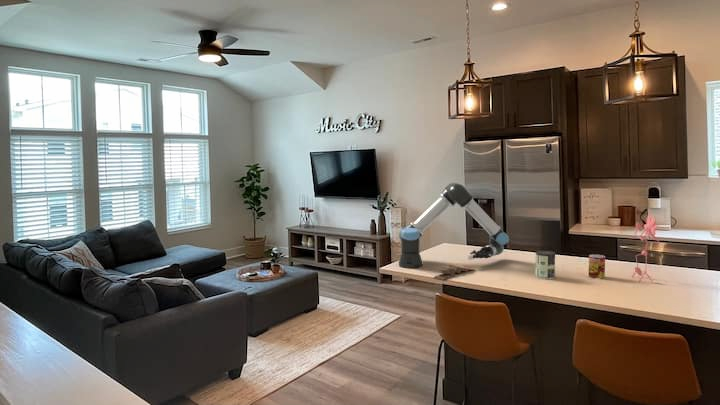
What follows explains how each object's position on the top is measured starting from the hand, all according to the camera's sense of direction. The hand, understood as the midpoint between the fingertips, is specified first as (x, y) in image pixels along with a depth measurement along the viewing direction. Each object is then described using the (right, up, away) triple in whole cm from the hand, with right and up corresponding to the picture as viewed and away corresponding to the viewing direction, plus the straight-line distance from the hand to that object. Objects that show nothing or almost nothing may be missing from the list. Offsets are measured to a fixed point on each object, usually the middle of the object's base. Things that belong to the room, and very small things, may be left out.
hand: (469, 257), depth 260 cm
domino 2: (-15, -9, -14) cm, 22 cm away
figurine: (+90, -8, -30) cm, 95 cm away
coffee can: (+38, -9, -20) cm, 43 cm away
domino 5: (+1, -6, 0) cm, 6 cm away
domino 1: (-13, -7, -11) cm, 19 cm away
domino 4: (-4, -7, -4) cm, 9 cm away
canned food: (+65, -8, -22) cm, 70 cm away
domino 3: (-9, -7, -7) cm, 14 cm away
